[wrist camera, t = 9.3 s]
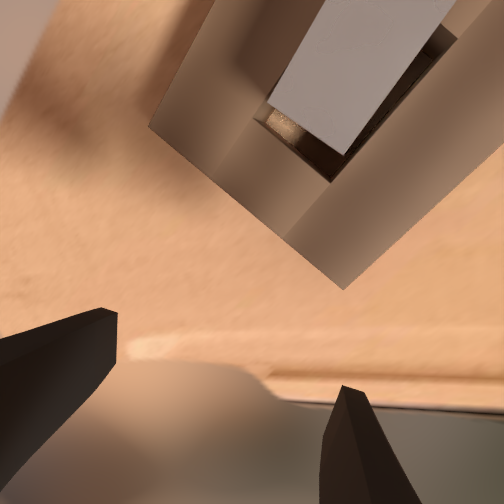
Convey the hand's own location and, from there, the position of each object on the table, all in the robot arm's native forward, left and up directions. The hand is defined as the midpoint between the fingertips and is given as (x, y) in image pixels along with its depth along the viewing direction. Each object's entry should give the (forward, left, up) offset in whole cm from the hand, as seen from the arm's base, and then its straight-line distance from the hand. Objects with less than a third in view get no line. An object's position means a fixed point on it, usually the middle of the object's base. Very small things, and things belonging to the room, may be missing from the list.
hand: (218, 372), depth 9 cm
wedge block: (+3, -9, -10) cm, 14 cm away
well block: (+3, -9, -9) cm, 13 cm away
